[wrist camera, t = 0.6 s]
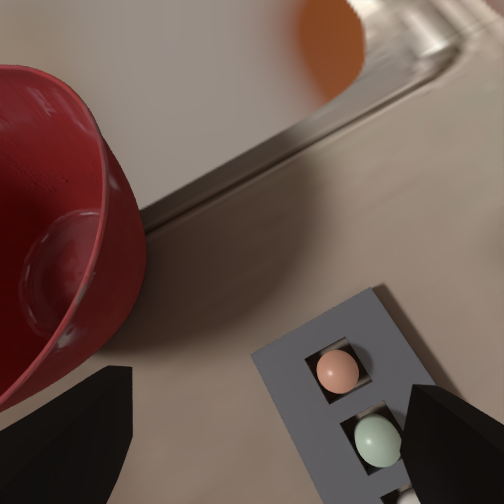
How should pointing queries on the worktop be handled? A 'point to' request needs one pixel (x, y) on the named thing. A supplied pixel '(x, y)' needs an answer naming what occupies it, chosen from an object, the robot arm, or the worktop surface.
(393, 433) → the sage button
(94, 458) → the robot arm
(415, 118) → the worktop surface
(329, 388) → the terracotta button
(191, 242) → the worktop surface
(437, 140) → the worktop surface
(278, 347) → the button panel
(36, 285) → the mixing bowl
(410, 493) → the cream button
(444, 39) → the worktop surface
